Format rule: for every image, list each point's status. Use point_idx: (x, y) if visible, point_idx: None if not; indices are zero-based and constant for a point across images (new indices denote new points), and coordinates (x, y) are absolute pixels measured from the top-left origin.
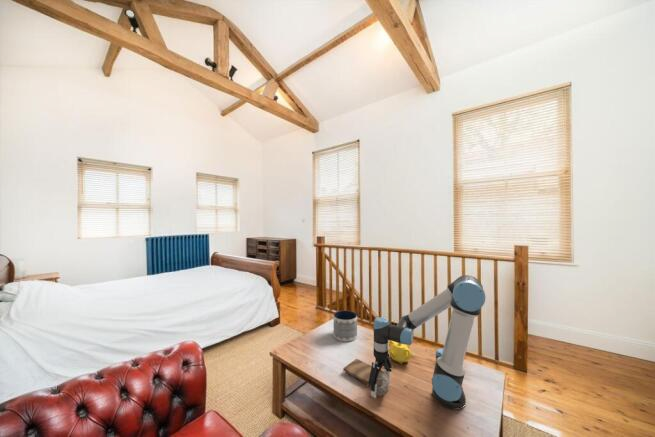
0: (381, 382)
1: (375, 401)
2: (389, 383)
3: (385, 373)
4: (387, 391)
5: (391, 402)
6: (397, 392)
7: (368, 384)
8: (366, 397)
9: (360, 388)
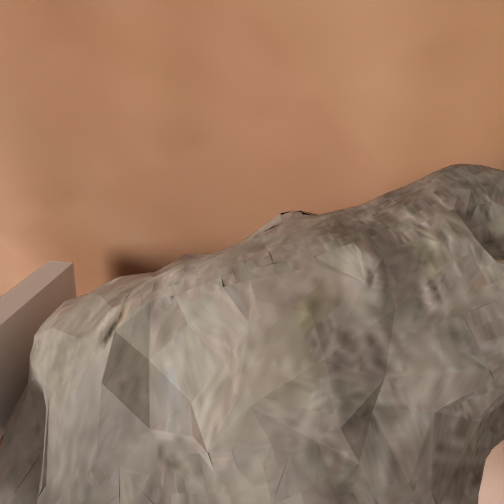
0: (481, 421)
1: None
2: (48, 264)
3: (58, 501)
4: (481, 165)
5: (391, 67)
6: (97, 81)
7: None
8: None
9: None
